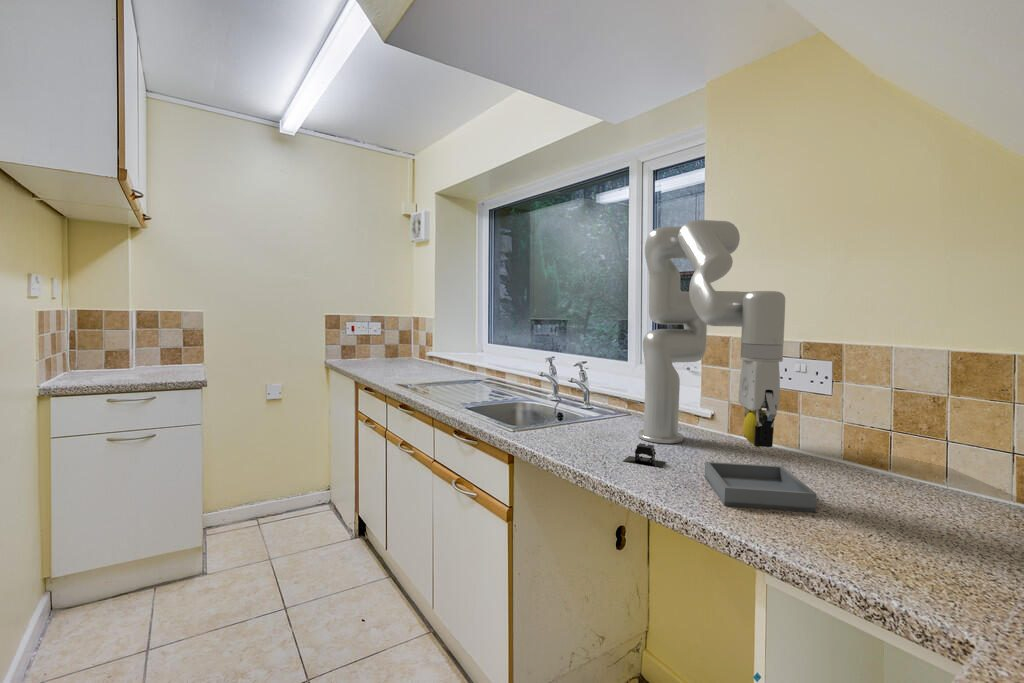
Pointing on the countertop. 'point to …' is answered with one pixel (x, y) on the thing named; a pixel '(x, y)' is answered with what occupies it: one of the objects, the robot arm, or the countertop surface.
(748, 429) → the lemon
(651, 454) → the black arched block
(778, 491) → the tray
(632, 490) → the countertop surface
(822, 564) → the countertop surface
